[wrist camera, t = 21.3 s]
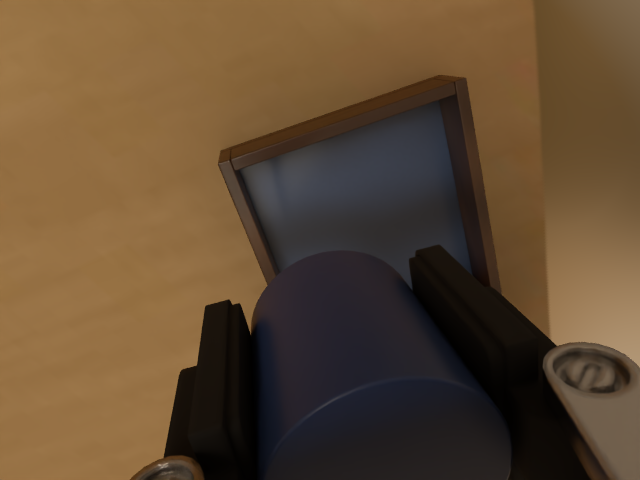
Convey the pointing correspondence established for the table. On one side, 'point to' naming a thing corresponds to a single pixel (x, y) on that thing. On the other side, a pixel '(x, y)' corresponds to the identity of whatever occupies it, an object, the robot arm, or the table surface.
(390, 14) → the table surface
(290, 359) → the blue mallet
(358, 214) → the tray
